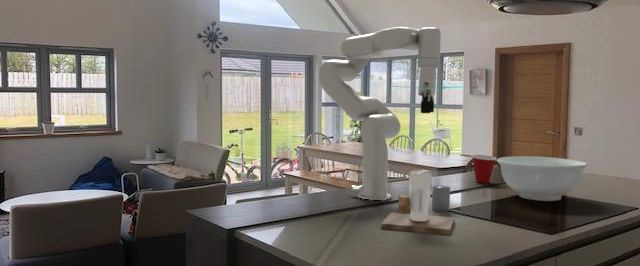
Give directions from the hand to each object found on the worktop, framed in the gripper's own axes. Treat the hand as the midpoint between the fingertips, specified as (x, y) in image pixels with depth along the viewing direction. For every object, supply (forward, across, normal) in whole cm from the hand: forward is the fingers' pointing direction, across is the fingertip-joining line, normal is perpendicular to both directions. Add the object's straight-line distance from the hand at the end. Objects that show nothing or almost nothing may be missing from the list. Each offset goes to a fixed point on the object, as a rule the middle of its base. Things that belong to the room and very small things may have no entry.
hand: (427, 112), depth 197 cm
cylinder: (+33, +4, +6) cm, 34 cm away
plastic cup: (+34, -61, +18) cm, 72 cm away
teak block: (+33, +14, -4) cm, 36 cm away
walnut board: (+33, +29, +2) cm, 44 cm away
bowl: (+34, -33, +40) cm, 62 cm away
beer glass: (+32, +29, +2) cm, 43 cm away
